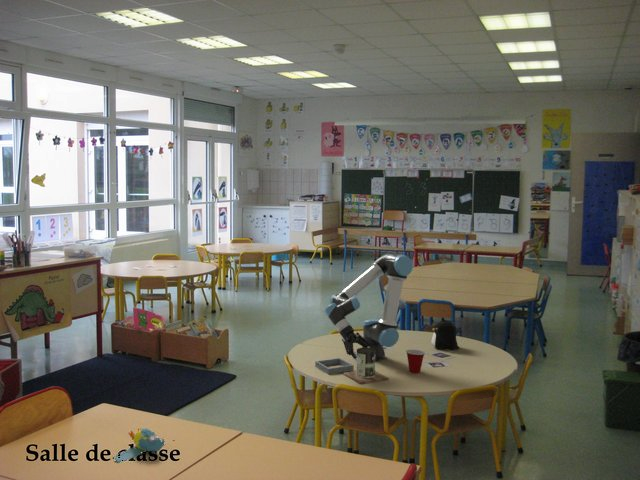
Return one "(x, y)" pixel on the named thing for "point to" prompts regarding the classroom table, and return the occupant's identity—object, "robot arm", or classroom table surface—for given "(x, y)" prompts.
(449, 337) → the penguin
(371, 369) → the coffee can
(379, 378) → the walnut board
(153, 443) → the blue toy bird
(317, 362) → the grey tub
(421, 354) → the plastic cup
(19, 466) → the classroom table surface
